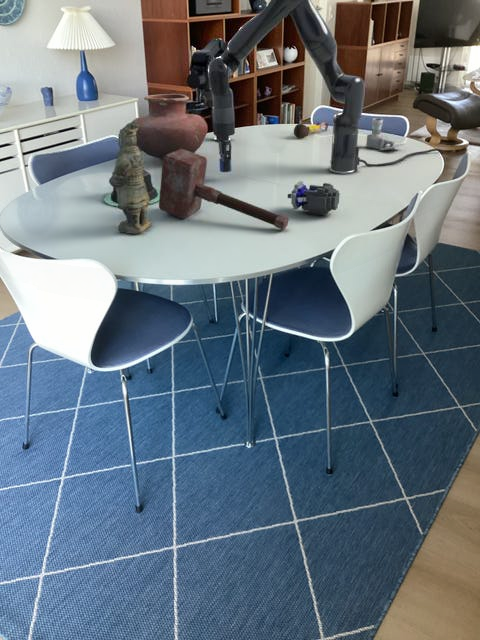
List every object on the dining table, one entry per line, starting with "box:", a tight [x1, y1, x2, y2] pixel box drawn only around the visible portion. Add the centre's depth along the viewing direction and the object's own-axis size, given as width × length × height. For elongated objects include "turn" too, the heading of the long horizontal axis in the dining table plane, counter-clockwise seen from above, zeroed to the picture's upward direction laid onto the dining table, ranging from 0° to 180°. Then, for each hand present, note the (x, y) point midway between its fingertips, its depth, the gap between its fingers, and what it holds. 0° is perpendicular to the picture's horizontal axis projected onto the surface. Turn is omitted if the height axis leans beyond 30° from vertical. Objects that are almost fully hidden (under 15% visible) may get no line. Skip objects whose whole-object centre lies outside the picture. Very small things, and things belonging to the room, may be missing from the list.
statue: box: [108, 120, 153, 235], centre depth 154 cm, size 11×9×30 cm
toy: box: [287, 180, 341, 216], centre depth 168 cm, size 9×9×15 cm
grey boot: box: [365, 117, 406, 152], centre depth 234 cm, size 9×12×15 cm
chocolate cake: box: [103, 168, 160, 207], centre depth 186 cm, size 15×19×20 cm
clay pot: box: [131, 93, 209, 161], centre depth 222 cm, size 30×30×25 cm
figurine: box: [293, 119, 329, 139], centre depth 263 cm, size 13×8×25 cm
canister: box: [218, 157, 232, 173], centre depth 200 cm, size 4×4×4 cm
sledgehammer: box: [158, 149, 290, 231], centre depth 163 cm, size 17×10×40 cm
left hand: (205, 124), depth 237 cm, fingers open, 9 cm apart
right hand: (225, 169), depth 200 cm, fingers closed on canister, 4 cm apart
